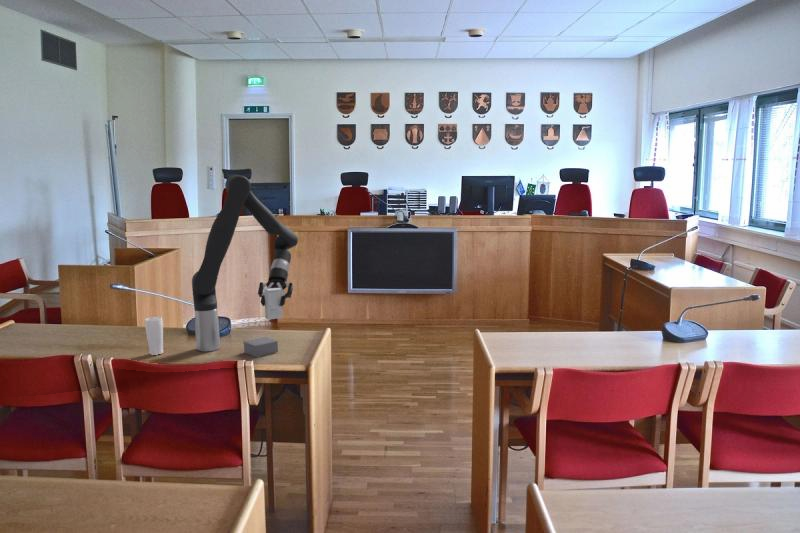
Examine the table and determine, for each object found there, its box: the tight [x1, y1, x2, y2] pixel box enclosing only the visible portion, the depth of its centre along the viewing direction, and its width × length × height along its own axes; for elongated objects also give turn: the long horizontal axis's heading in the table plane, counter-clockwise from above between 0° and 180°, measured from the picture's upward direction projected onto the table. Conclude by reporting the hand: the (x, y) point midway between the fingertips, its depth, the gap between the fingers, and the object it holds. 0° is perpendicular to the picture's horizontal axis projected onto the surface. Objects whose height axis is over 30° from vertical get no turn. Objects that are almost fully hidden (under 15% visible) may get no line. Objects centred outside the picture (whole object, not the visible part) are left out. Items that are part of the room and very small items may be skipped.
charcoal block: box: [243, 336, 279, 358], centre depth 268 cm, size 10×10×5 cm
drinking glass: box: [144, 316, 164, 356], centre depth 268 cm, size 7×7×15 cm
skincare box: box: [263, 288, 283, 320], centre depth 266 cm, size 6×4×12 cm
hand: (272, 305), depth 265 cm, fingers closed on skincare box, 7 cm apart
